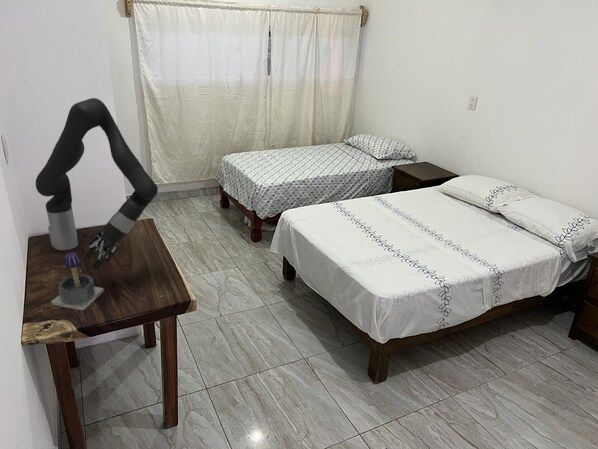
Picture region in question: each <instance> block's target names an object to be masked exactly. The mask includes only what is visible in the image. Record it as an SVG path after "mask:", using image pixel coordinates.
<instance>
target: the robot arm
mask: <svg viewBox="0 0 598 449" xmlns="http://www.w3.org/2000/svg"><path fill="white" fill-rule="evenodd" d="M63 127H64V128H63V130H62V131H61V134H60V136H59V138H58V140H57V141H56V144H55V145H54V147H53V149H52V152H51V154H50V156H49V158H48V160H47V162H46V163H45V165H44V167H43V168H42V169H41V171H39V173H38V175H37V176H36V179H35V188H36V191H37V192H38V193H39V194H40V195H41V196H43V197H51V198H50V199H49V200H47V202H46V203H45V210H46V214H47V218H48V224H49V226H48V227H47V230H48V234H49V238H50V243H51V247H52V248H54V249H55V250H58V251H69V250H72V249H74V248H77V247H78V245H79V239H78V234H77V228H76V223H75V222H76V221H75V218H74V211H73V207H72V202H73V197H72V196H73V195H72V188H71V182H70V178H69V176H68V174H67V173H68V172H70V171H71V170H72V169H73V168H75V167H76V166H77V165H78V164H79V162H80V160H81V159H82V157H83V155H84V153H85V145H84V142H83V139H84V138H85V136H86V134H87V133H88V132H89V131H90V130H92V129H94V128H98V127H100V128H101V130H102V131H103V132H104V134H105V136H106V138H107V140H108V145H109V150H110V154H111V158H112V160H113V162H114V164H115V166H117V168H118V169H119V171H120V172H121V173H122V175H123V176H124V177H125V178H126V179H127V180H128V181H129V184H130V185H131V187H132V188H133V189H134V191H133V193H132V194H131V195H130V197H129V198H127V199H126V200H125V202H123V204H122V205H121V206H120V208H119V209H118V210H117V211H116V212H115V213H114V214H113V215H112V216H111V218H110V219H109V220H108V221H107V223H106V224H105V225H104V227H103V228H102V229H101V231H97V233H96V234H95V235H94V236H93V238H92V239H91V240H89V242H88V245H89V247H88V250H87V251H86V252H85V253H84V255H83V258H84V259H85V260H91V258H92V257H93V255H94V254H95V253H96V252H97V251H98V250H99V251H98V258H96V260H95V261H94V262H93V264H92V265H91V266H90V267H91V269H92V270H94V271H98V269H99V268H101V266H102V265H103V263H107V264H108V263H109V262H110V261H111V260H112V258H113V257H114V255H116V253H117V251H118V248H117V247H116V243H119V244H120V243H122V241H123V239H124V238H125V237H126V236H127V234H128V233H129V232H130V231H131V229H132V228H133V226H134V224H135V223H136V222H137V220H138V219H139V218H140V217H141V216H142V215H143V212H144V210H145V209H146V208H147V206H148V205H150V203H151V202H152V201H153V200H154V198H155V197H156V196H157V194H158V193H159V192H158V191H159V188H158V186H157V184H156V183H155V182H154V180H153V179H152V178H151V176H150V175H149V174H148V173H147V171H145V169H144V167H143V164H141V162H140V161H139V159H138V158H137V157H136V156H135V154H134V153H133V152H132V150H131V148H130V147H129V145H128V144H127V142H126V140H125V139H124V137H123V134H122V133H121V131H120V129H119V127H118V125H117V123H116V122H115V120H114V117H113V116H112V114H111V112H110V110H109V109H108V107H107V106H106V104H105V103H104V102H103V101H102V100H101V99H100V98H95V97H92V98H88V99H84V100H82V101H78V102H76V103H74V104H73V105H72V106H71V107H70V108H69V111H68V114H67V117H66V121H65V124H64V126H63Z"/></svg>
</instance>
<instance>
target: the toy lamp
mask: <svg viewBox="0 0 598 449" xmlns="http://www.w3.org/2000/svg"><path fill="white" fill-rule="evenodd" d="M64 260H65V261H64V266H65V267H66V268H67V269H70V271H71V274H72V275H73V279H74V283H75V287H76V290H77V289H80V288H81V285H80V281H79V277H78V275H79V273H78V269H77V267H79V266H80V265H81V261H80V259H79V257H78V255H77V254H76V252H69V253H66V255H65V259H64ZM72 275H71V276H72Z"/></svg>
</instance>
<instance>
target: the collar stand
mask: <svg viewBox="0 0 598 449" xmlns="http://www.w3.org/2000/svg"><path fill="white" fill-rule="evenodd" d="M78 277H79V281H80V285H81V288H80V289H77V290H76V287H75V283H74V279H73V275H70V276H67V277H65V278H63V279H62V280H61V281H59V282H58V286H57V289H58V295H57V296H56V297H54V299H52V300H51V301H50V302H51V304H50V305H51V306H52V305H53V306H58V307H63V308H68V309H71V310H72V309H73V310H78V311H84V310H86V309H87V308H88V307H89V306H90V305H91V304H92V303H93V302H94V301H95V300H96V299H97V298H98V297H100V295H102V294H103V292H105V288H103V287H99V286H95V283H94V278H92V277H91V276H90V275H87V274H82V273H81V274H78Z"/></svg>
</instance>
